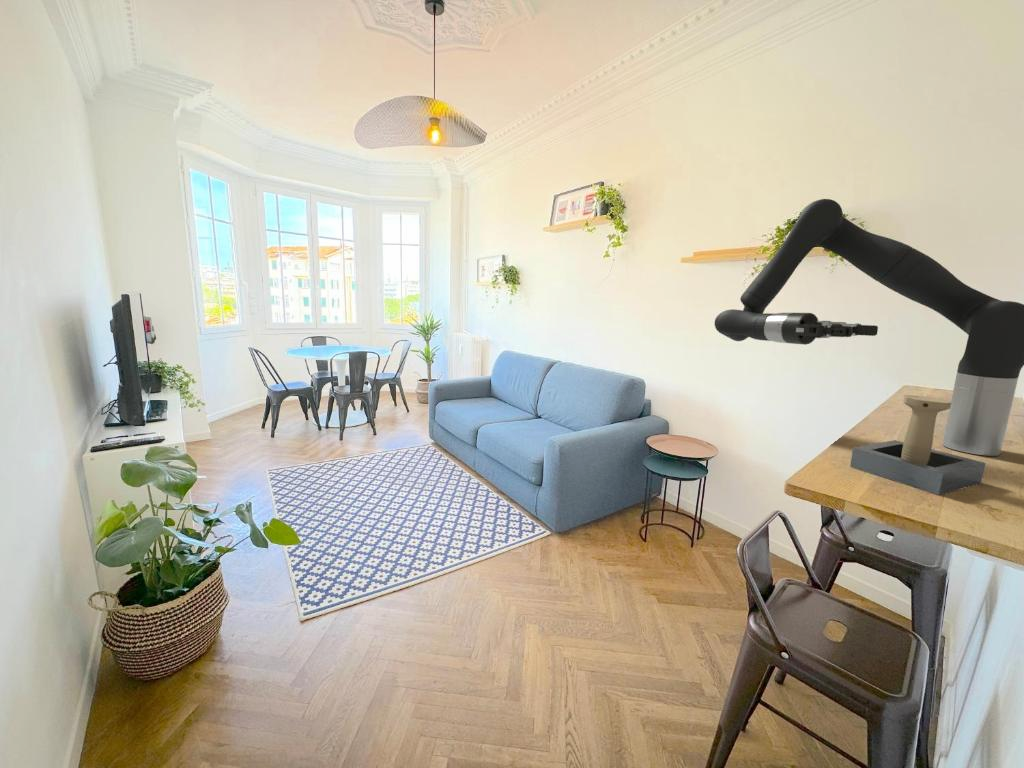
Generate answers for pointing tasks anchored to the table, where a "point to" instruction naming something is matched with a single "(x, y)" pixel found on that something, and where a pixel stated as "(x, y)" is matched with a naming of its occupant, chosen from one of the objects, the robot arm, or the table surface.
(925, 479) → the housing
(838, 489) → the table surface
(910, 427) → the handle
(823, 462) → the table surface
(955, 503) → the table surface
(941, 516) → the table surface
